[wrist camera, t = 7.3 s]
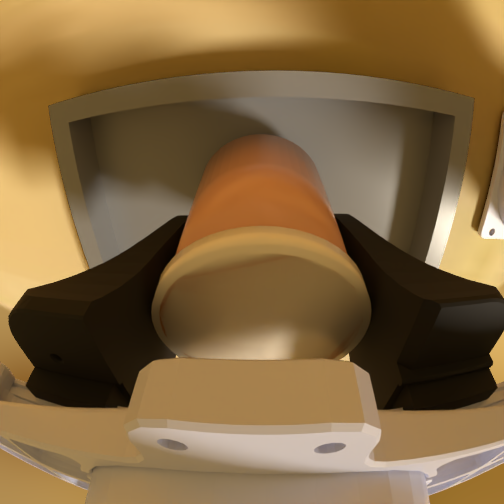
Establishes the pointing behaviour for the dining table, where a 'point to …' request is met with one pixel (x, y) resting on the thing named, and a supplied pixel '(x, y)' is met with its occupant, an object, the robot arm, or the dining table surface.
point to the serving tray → (271, 123)
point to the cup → (261, 263)
